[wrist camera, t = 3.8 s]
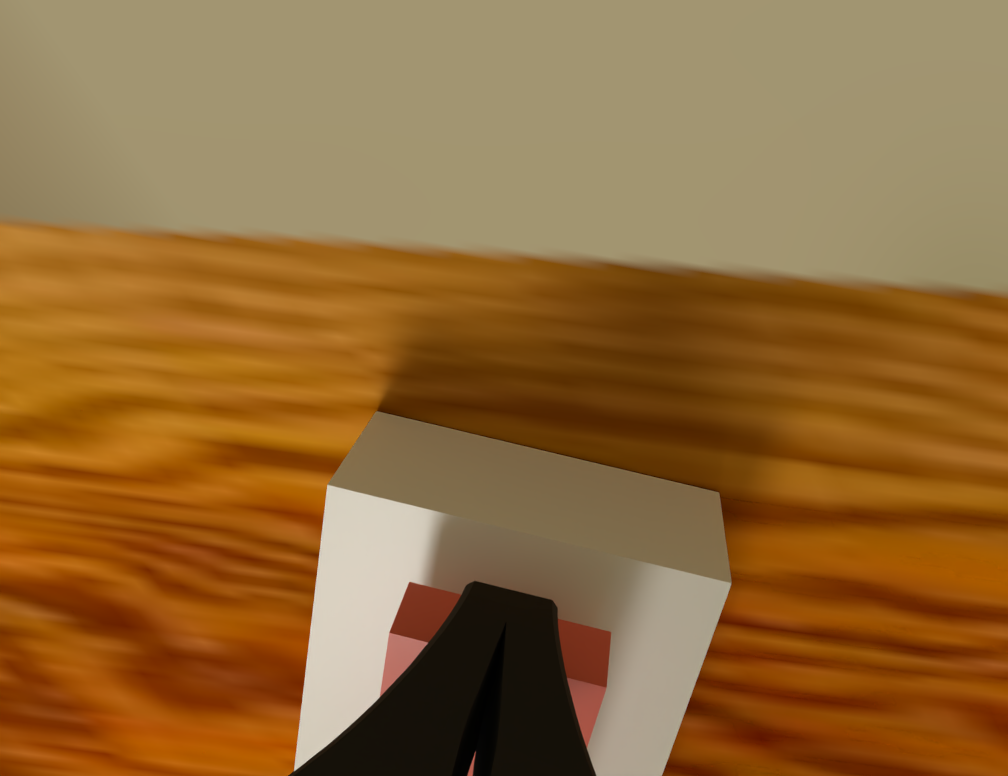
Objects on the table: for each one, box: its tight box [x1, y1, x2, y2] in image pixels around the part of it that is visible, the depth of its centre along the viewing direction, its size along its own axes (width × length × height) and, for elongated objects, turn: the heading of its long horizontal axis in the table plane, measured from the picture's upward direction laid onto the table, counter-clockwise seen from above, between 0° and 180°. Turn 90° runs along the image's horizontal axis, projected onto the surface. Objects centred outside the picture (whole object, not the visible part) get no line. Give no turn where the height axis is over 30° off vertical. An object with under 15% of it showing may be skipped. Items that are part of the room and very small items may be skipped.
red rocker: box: [380, 582, 611, 776], centre depth 15 cm, size 5×3×1 cm, turn 169°
